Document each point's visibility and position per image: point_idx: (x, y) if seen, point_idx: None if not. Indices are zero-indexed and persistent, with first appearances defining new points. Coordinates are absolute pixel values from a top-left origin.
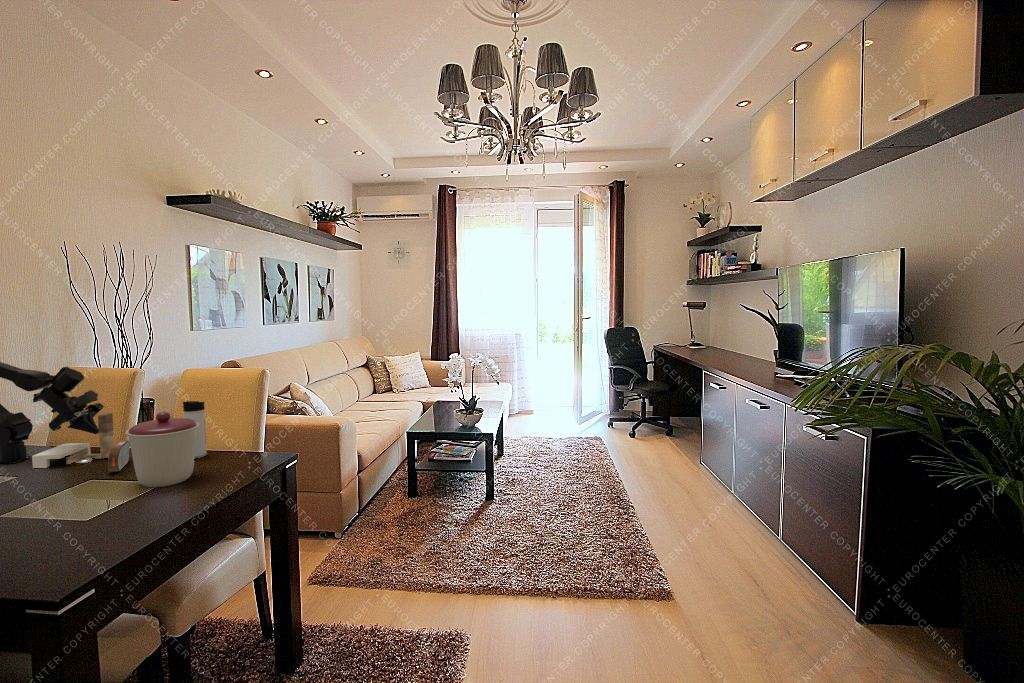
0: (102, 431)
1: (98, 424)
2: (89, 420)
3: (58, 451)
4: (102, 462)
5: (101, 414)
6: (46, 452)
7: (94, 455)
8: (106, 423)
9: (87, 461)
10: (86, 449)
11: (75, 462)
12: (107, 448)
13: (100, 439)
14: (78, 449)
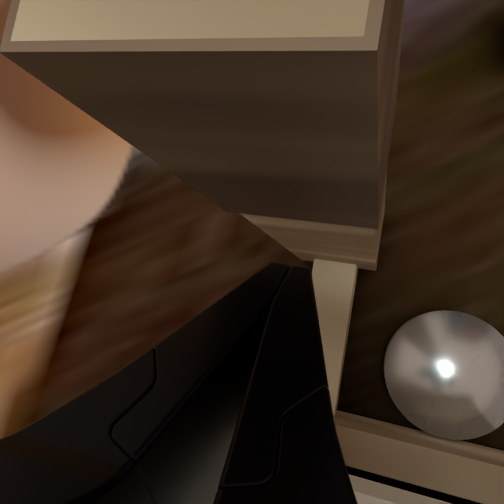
0: (386, 166)
1: (373, 186)
2: (143, 470)
3: None
4: (467, 224)
5: (195, 14)
6: None
7: (346, 327)
8: (402, 1)
9: (492, 327)
10: None
11: (494, 425)
12: (385, 191)
13: (375, 234)
14: None
